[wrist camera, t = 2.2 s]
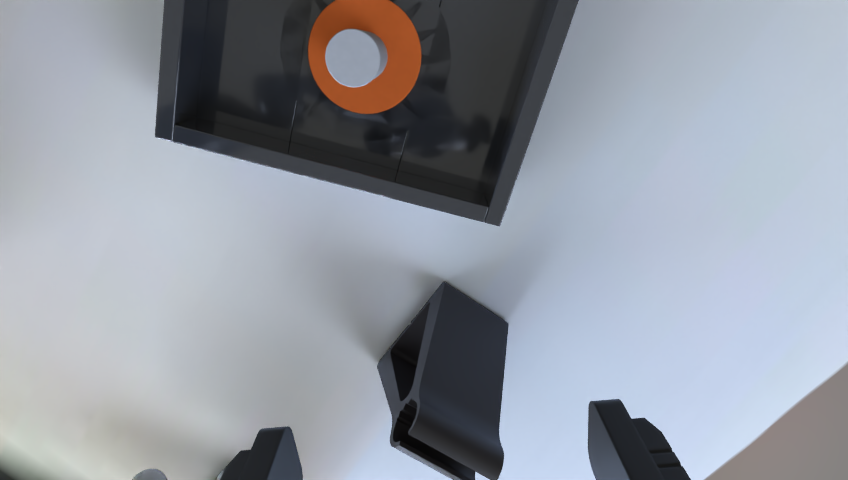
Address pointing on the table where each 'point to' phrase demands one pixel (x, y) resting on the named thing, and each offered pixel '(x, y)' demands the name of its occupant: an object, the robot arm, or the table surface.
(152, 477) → the toy rhinoceros
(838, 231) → the table surface
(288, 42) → the sink
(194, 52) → the dark grey tray
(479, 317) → the phone stand
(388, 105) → the plug
